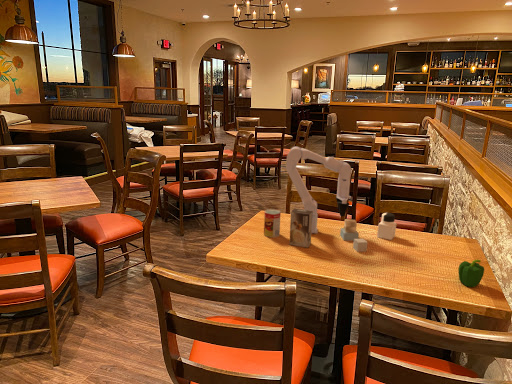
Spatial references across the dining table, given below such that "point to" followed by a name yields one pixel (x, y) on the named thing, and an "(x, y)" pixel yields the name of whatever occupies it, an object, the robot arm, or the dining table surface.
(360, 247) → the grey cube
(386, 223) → the medicine bottle
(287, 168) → the robot arm
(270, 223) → the canned food
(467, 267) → the bell pepper
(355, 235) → the slate block
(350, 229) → the maple cube
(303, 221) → the coffee box
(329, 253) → the dining table surface
